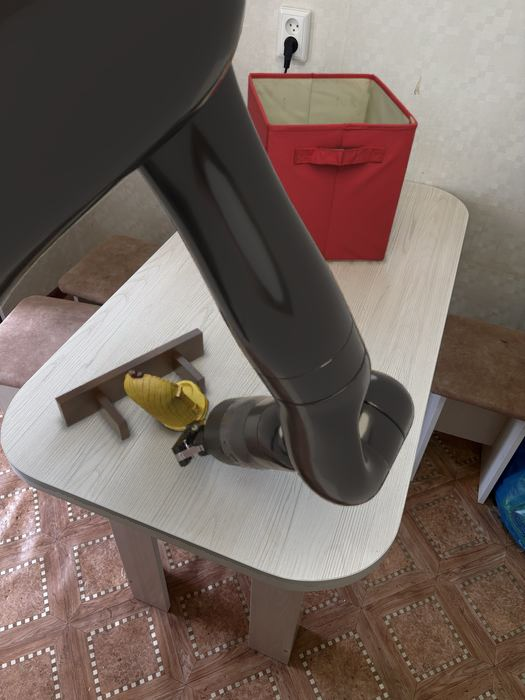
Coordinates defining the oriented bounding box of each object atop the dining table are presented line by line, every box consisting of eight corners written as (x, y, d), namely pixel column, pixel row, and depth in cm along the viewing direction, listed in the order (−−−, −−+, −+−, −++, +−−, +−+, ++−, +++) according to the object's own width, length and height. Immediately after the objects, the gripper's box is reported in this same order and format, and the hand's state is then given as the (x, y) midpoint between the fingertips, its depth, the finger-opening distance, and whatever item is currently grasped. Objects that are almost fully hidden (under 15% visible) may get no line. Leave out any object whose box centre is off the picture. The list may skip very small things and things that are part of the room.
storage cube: (391, 267, 105) (428, 124, 85) (260, 273, 102) (267, 126, 82) (350, 195, 128) (372, 69, 108) (243, 198, 125) (245, 68, 105)
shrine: (167, 465, 68) (155, 392, 58) (124, 436, 72) (106, 361, 61) (220, 412, 75) (218, 338, 65) (179, 388, 78) (171, 313, 68)
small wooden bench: (90, 459, 69) (83, 437, 65) (63, 420, 73) (54, 398, 70) (230, 378, 80) (230, 356, 77) (198, 349, 85) (197, 327, 81)
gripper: (284, 372, 56) (219, 382, 71) (185, 432, 49) (136, 430, 64) (312, 431, 57) (242, 429, 72) (218, 498, 50) (162, 481, 65)
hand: (192, 430), depth 68 cm, fingers closed
